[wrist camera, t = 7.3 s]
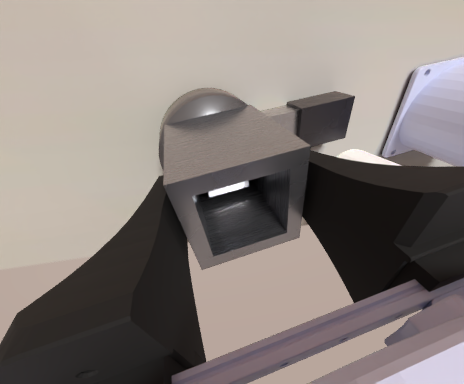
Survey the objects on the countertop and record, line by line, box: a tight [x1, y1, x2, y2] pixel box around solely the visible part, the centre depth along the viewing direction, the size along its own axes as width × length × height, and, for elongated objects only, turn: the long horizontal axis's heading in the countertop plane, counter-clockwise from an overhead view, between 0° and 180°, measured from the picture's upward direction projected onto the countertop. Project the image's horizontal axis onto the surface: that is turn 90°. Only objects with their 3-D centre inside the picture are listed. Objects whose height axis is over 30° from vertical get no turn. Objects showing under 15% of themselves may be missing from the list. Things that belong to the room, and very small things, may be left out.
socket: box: [163, 105, 311, 270], centre depth 10 cm, size 5×5×6 cm
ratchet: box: [159, 88, 355, 197], centre depth 13 cm, size 14×7×5 cm, turn 98°
